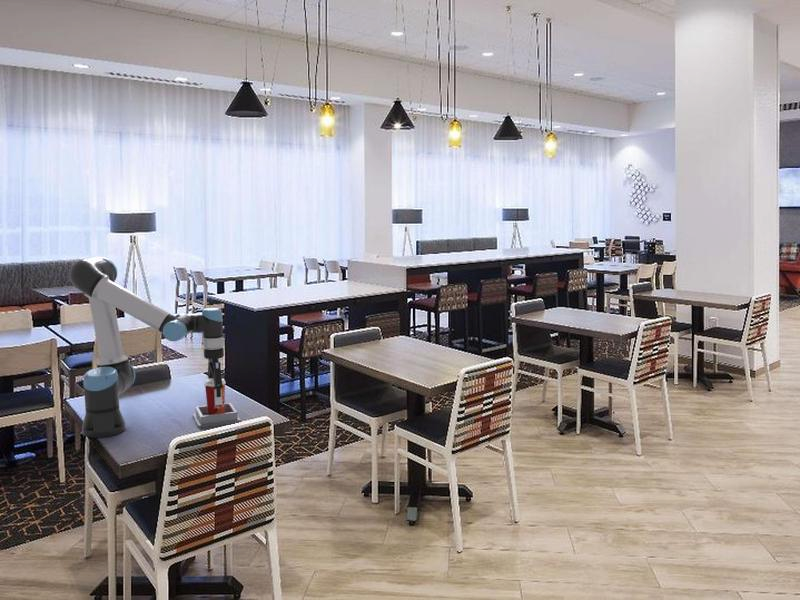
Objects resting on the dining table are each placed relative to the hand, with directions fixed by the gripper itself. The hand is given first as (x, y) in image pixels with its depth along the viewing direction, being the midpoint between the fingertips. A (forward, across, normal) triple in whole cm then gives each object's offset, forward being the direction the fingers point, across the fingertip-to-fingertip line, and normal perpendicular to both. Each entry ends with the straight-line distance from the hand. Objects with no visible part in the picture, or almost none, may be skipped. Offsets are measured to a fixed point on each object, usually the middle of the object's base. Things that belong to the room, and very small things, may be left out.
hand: (215, 400), depth 267 cm
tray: (+8, 0, 0) cm, 8 cm away
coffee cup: (+7, 0, 0) cm, 7 cm away
